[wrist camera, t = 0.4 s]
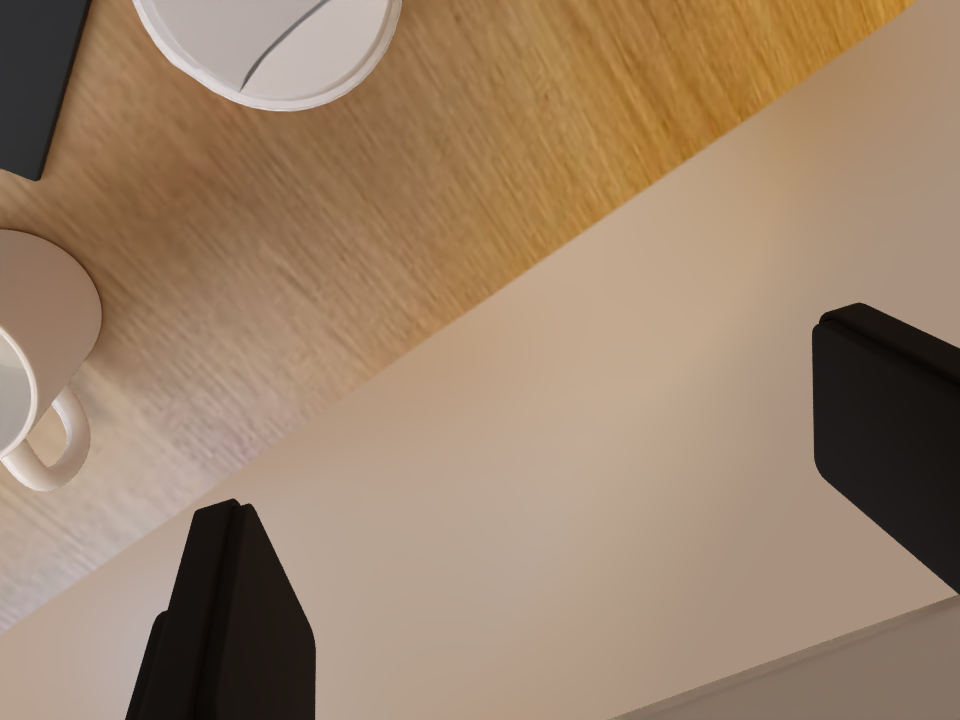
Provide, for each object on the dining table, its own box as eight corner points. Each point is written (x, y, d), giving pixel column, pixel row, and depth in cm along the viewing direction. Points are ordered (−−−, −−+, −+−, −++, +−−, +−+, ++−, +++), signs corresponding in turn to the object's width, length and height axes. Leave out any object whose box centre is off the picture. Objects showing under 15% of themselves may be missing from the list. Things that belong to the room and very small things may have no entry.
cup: (44, 200, 35) (-53, 252, 26) (172, 391, 40) (130, 491, 31) (-111, 264, 35) (-263, 340, 26) (39, 449, 40) (-44, 565, 31)
